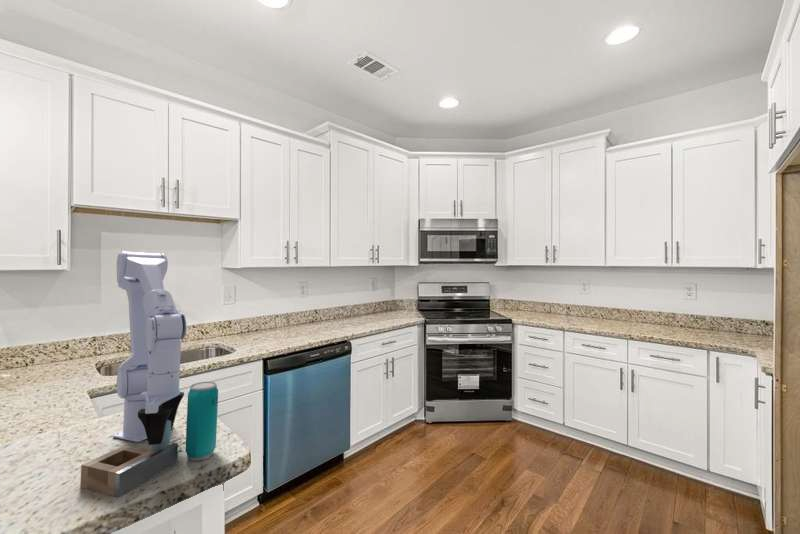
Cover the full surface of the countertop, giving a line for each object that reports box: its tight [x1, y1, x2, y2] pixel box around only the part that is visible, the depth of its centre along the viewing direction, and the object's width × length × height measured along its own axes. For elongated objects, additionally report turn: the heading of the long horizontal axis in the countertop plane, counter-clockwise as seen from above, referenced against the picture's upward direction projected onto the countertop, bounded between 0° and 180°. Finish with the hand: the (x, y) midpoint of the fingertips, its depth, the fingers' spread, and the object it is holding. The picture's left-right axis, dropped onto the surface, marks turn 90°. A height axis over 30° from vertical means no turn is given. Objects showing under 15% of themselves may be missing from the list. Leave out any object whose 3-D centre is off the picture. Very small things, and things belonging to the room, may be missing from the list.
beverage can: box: [185, 381, 219, 462], centre depth 79 cm, size 6×6×15 cm
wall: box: [114, 442, 179, 498], centre depth 70 cm, size 12×1×4 cm, turn 165°
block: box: [79, 444, 156, 497], centre depth 69 cm, size 8×8×4 cm
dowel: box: [150, 420, 172, 452], centre depth 78 cm, size 3×3×7 cm
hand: (161, 435), depth 78 cm, fingers open, 7 cm apart
